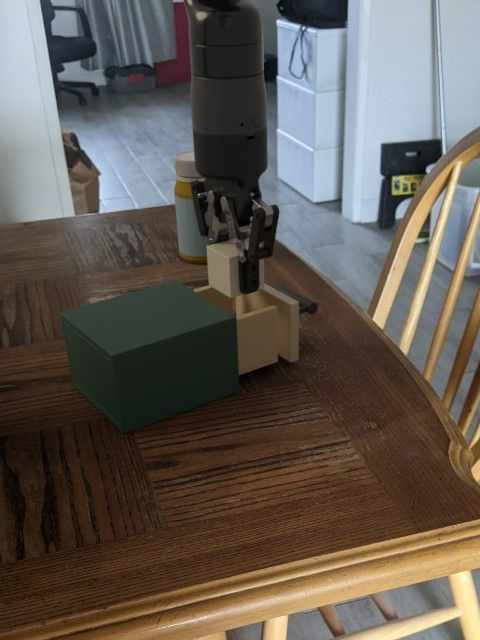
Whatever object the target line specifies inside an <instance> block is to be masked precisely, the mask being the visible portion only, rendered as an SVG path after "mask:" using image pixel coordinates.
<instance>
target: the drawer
mask: <svg viewBox="0 0 480 640" xmlns="http://www.w3.org/2000/svg"><path fill="white" fill-rule="evenodd" d="M264 285H265V288H264V289H260V290H258V291H256V292H253V293H250V294H247V295H245V294H243V295H240V296H237V297H235V316H236V319H237V323H236V324H237V341H238V365H239V376H241V375H244V374H247V373H250V372H252V371H255V370H258V369H261V368H264V367H267V366H269V365H272V364H275V363H278V362H279V357H281V358H283V359H284V360H286V361H287V362H289V363H294V362H297V361H299V356H300V355H299V349H300V348H299V347H300V345H299V344H300V343H299V342H300V339H299V338H300V315H301V314H305V313H307V314H309V315H314V314H316V313H317V312H318V309H319V304H318V302H316V301H314V300H312V299H310V298H308V297H306V296H305V295H303V294H301V293H299V292H297V291H296V290H293V289H291V288H290V287H288V286H286V285H283V284H281V285H279V286H278V287H277V288H274V287H272V286H270V285H268V284H266V283H264ZM192 290H193V291H195V292H197V293H198V294H200V295H202V296H203V297H205V298H206V299H208V300H210V301H211V302H213V303H215V304H216V305H218V306H220V307H221V308H223V309H224V310H226V311H228V312H229V313H231V314H233V315H234V297H233V298H230V297H228V296H226V295H225V294H223V293H221V292H220V291H218V290H216V289H214V288H213V287H211V286H209V284H208V285H205V286H202V287H198V288H195V289H192Z"/></svg>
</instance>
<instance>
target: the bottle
mask: <svg viewBox="0 0 480 640" xmlns="http://www.w3.org/2000/svg"><path fill="white" fill-rule="evenodd" d="M174 171H175V177H176V178H175V183H174V184H175V185H174V187H173V190H174V193H173V194H174V206H175V217H176V218H175V219H176V226H177V227H176V230H177V231H176V232H177V241H178V251H179V256H180V257H181V258H182V259H183V261H185V262H188V263H191V264H199V265H200V264H201V265H202V264H203V265H204V264H208V262H207V246H209V243H208V238H207V237H206V236H204V237H202V236H201V235H200V232H199V228H198V223H197V218H196V213H195V207H194V202H193V197H192V192H191V187H190V183H191V181H195V180H200V179H205V177H203V176H201V175H200V174H198V173H197V171H196V169H195V158H194V149H192V150H191V149H190V150H185V151H184V150H183V151H181V152H178V153H176V154H175V155H174ZM205 218H206V219H207V212H206V213H205Z"/></svg>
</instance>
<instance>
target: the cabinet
mask: <svg viewBox="0 0 480 640" xmlns="http://www.w3.org/2000/svg"><path fill="white" fill-rule="evenodd" d="M193 290H194V289H192V288H190V287H188V286H187V285H185V284H183V283H182V282H180V281H179V280H177V279H175V280H172V281H167V282H165V283H161V284H158V285H154V286H150V287H147V288H143V289H139V290H136V291H132V292H129V293H125V294H121V295H117V296H114V297H109V298H107V299H104V300H100V301H95V302H91V303H88V304H85V305H81V306H77V307H74V308H70V309H67V310H62V311H59V318H60V324H61V329H62V335H63V340H64V345H65V346H64V347H65V351H66V356H67V362H68V367H69V372H70V377H71V383H72V387H73V388H75V389H76V391H78V392H79V393H80V394H81V395H82V396H83V397H84V398H85V399H86V400H87V401H88V402H90V404H91V405H92V406H94V408H96V409H97V410H98V411H99V413H101V414H102V415H103V416H104V417H105V418H106V419H107V420H108V421H109V422H110V423H111V424H112V425H113V426H114V427H116V428H117V429H118V430H119V431H120V432H121V433H122V434H124V435H125V434H127V433H130V432H132V431H135V430H138V429H140V428H144V427H146V426H149V425H152V424H154V423H158V422H159V421H163V420H166V419H168V418H171V417H173V416H176V415H179V414H182V413H184V412H187V411H190V410H193V409H196V408H198V407H201V406H204V405H207V404H209V403H211V402H215V401H217V400H220V399H222V398H225V397H228V396H231V395H234V394H236V393H239V392H240V391H241V390H240V375H239V365H238V341H237V324H236V323H237V319H236V315H234V313H233V314H231V313H229V312H228V311H226V310H224V309H223V308H221V307H220V306H218V305H216V304H215V303H213V302H211V301H210V300H208V299H206V298H205V297H203V296H202V295H200V294H198V293H197V292H195V291H193Z"/></svg>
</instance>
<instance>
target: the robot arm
mask: <svg viewBox="0 0 480 640" xmlns="http://www.w3.org/2000/svg"><path fill="white" fill-rule="evenodd" d="M182 1H183V4H184V7H185V11H186V16H187V21H188V22H187V23H188V42H189V45H188V46H189V58H190V59H189V60H190V72H191V74H190V75H191V76H190V78H191V85H190V111H191V114H190V115H191V127H192V129H191V130H192V141H193V142H192V143H193V150H194V158H195V169H196V171H197V173H198V174H200V175H201V176H203V177H205V179H200V180H195V181H191V183H190V187H191V192H192V197H193V202H194V207H195V213H196V218H197V223H198V228H199V232H200V235H201V236H202V237H204V236H206V237H207V238H208V243H209V245H213V244H217V243H221V242H225V241H229V240H233V241H235V243H236V248H237V253H238V257H239V260H240V261H238V268H239V290H240V292H241V293H243V294H245V295H247V294H250V293H253V292H256V291H258V289H259V285H260V280H259V261H260V259H264V260H265V259H269V258H272V257H273V255H274V254H273V253H274V248H275V242H276V236H277V229H278V224H279V218H280V208H279V206H278V205H277V204H270V205H268V204H267V203H266V202H265V201H264V200H263V195H262V191H261V187H260V182H259V180H260V177H261V176H262V175H263V174H264V173H265V172H266V171H267V169H268V165H269V164H268V163H269V161H268V156H269V155H268V154H269V153H268V107H267V106H268V105H267V104H268V101H267V90H266V83H265V72H264V70H265V69H264V68H265V65H264V61H265V60H264V29H263V19H262V15H261V11H260V10H259V8H258V6H257V5H256V4H255V3H254V2H253V1H252V0H182ZM206 212H207V219H206V218H205V213H206ZM248 226H250V228H249V229H244V230H240V229H241V228H245V227H248ZM247 239H249V240H248V241H249V246H248V249H246V245H245V240H247ZM262 243H263V245H262Z"/></svg>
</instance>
